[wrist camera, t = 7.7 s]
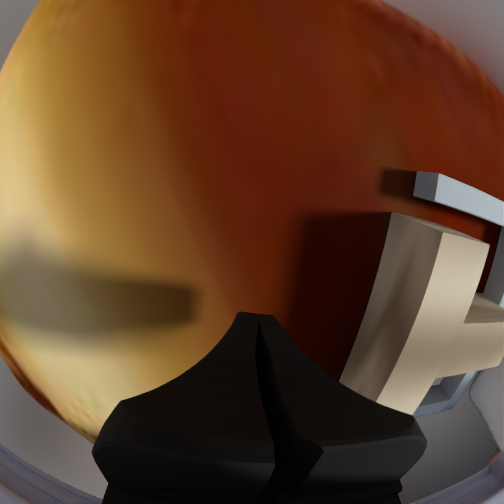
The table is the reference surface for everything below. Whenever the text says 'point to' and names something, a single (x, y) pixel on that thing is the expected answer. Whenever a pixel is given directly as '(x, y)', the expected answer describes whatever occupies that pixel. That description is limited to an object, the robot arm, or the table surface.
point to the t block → (424, 316)
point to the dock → (499, 281)
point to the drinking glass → (491, 399)
